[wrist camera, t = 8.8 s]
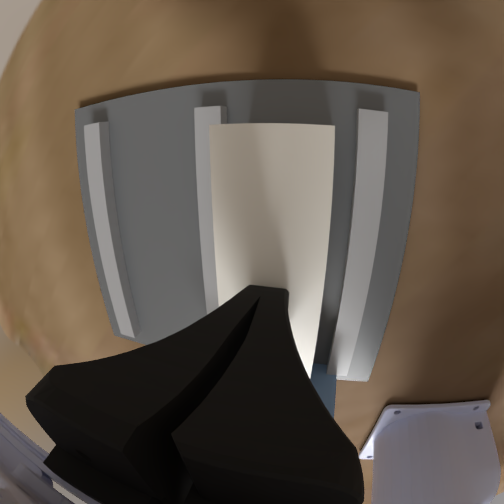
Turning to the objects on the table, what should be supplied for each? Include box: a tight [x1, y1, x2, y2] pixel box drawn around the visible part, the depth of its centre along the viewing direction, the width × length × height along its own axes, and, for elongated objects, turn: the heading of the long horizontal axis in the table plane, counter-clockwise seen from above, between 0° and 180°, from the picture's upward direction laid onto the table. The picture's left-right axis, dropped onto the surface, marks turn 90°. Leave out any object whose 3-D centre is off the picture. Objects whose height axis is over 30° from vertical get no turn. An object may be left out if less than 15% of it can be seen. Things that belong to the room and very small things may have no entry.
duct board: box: [75, 79, 420, 419], centre depth 13 cm, size 18×16×4 cm
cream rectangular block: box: [209, 123, 335, 378], centre depth 12 cm, size 4×12×4 cm, turn 1°
